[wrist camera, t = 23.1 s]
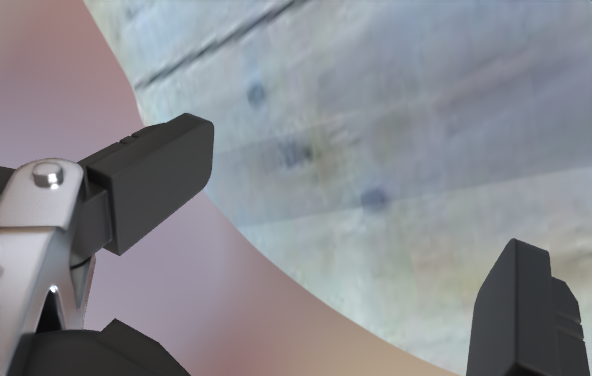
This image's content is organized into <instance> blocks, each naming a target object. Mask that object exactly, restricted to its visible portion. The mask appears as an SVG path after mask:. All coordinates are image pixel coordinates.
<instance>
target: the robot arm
mask: <svg viewBox="0 0 592 376" xmlns="http://www.w3.org/2000/svg"><path fill="white" fill-rule="evenodd" d="M213 143H214V125H213V123H212V122H210V121H208V120H205V119H203V118H200V117H197V116H195V115H192V114H189V113H184V114H182V115H180V116H178V117H176V118H174V119H172V120H170V121H169V122H167V123H161V124H157V125H152V126H148V127H145V128H143V129H141V130H139V131H137V132H135V133H133V134H132V135H131V136H127V137H125V138H124V139H122V140H120V142H119V143H118V142H116V143H114V144H112V145H110V146H108V147H106V148H104V149H102V150H100V151H98V152H96V153H94V154H92V155H90V156H89V157H87V158H85V159H83V160H81V161H79V162H77V163H76V162H73V161H70V160H67V159H62V158H61V159H60V158H46V159H39V160H35V161H31V162H29V163H26V164H24V165H22V166H20V167H19V168H17V169H12V168H6V167H1V166H0V376H191V375H190V374H189V373H188V372H187V371H186V370H185V369H184V368H183V367H182V366H181V365H180V364H179V363H178V362H177V361H176V360H175V359H174V358H173V357H172V356H171V355H170V354H169V353H168V352H167V351H166V350H165V349H164V348H163V347H162V346H161V345H160V343H159V342H157V341H155V340H153V339H151V338H150V337H148V336H145V335H144V334H142V333H141V332H139V331H137V330H135V329H133V328H132V327H130V326H128V325H126V324H124V323H123V322H121V321H119V320H117V319H114V320H113V321H112V322H111V323H110V324H108V325H107V326H106V327H105V328H104V329H103V330H102V331H101V332H99V331H94V330H85V329H83V323H84V317H85V312H86V306H87V302H88V297H89V292H90V287H91V282H92V277H93V273H94V268H95V263H96V258H95V253H96V252H97V251H98V250H100V249H101V248H102V247H103V248H105V249H106V250H108V251H110V252H112V253H114V254H116V255H118V256H121V255H122V254H123V253H124V252H125V251H127V250H128V249H129V248H130V247H132V246H133V245H134V244H135V243H137V242H138V241H139V240H140V239H142V238H143V237H144V236H145V235H147V234H148V233H149V232H150V231H152V229H154V228H155V227H156V226H158V225H159V224H160V223H161V222H163V221H164V220H165V219H166V218H168V217H169V216H170V215H171V214H173V213H174V212H175V211H176V210H178V209H179V208H180V207H181V206H182V205H184V204H185V203H186V202H187V201H189V200H190V199H191V198H192V197H194V196H195V195H196V194H197V193H199V192H200V191H201V190H202V189H203V188H204V187H205V186H206V184H207V182H208V180H209V178H210V175H211V171H212V159H213ZM580 323H581V317H580V311H579V305H578V302H577V300H576V298H575V297H574V295H573V294H572V292H571V290H570V289H569V287H568V286H567V284H566V283H565V282H564V281H562V280H559V279H556V278H554V277H551V267H550V257H549V253H548V251H546V250H543V249H541V248H538V247H535V246H533V245H530V244H527V243H525V242H522V241H520V240H517V239H514V238H513V239H511V240H510V241H509V242H508V244H507V245H506V247H505V248H504V250H503V252H502V253H501V255H500V256H499V258H498V260H497V261H496V263H495V265H494V266H493V268H492V269H491V271H490V273H489V274H488V276H487V278H486V279H485V281H484V282H483V284H482V286H481V288H480V290H479V293H478V295H477V298H476V301H475V305H474V312H473V320H472V329H471V338H470V346H469V355H468V364H467V372H466V376H590V371H589V365H588V359H587V353H586V347H585V342H584V341H583V338H584V335H583V329H582V325H580Z"/></svg>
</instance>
